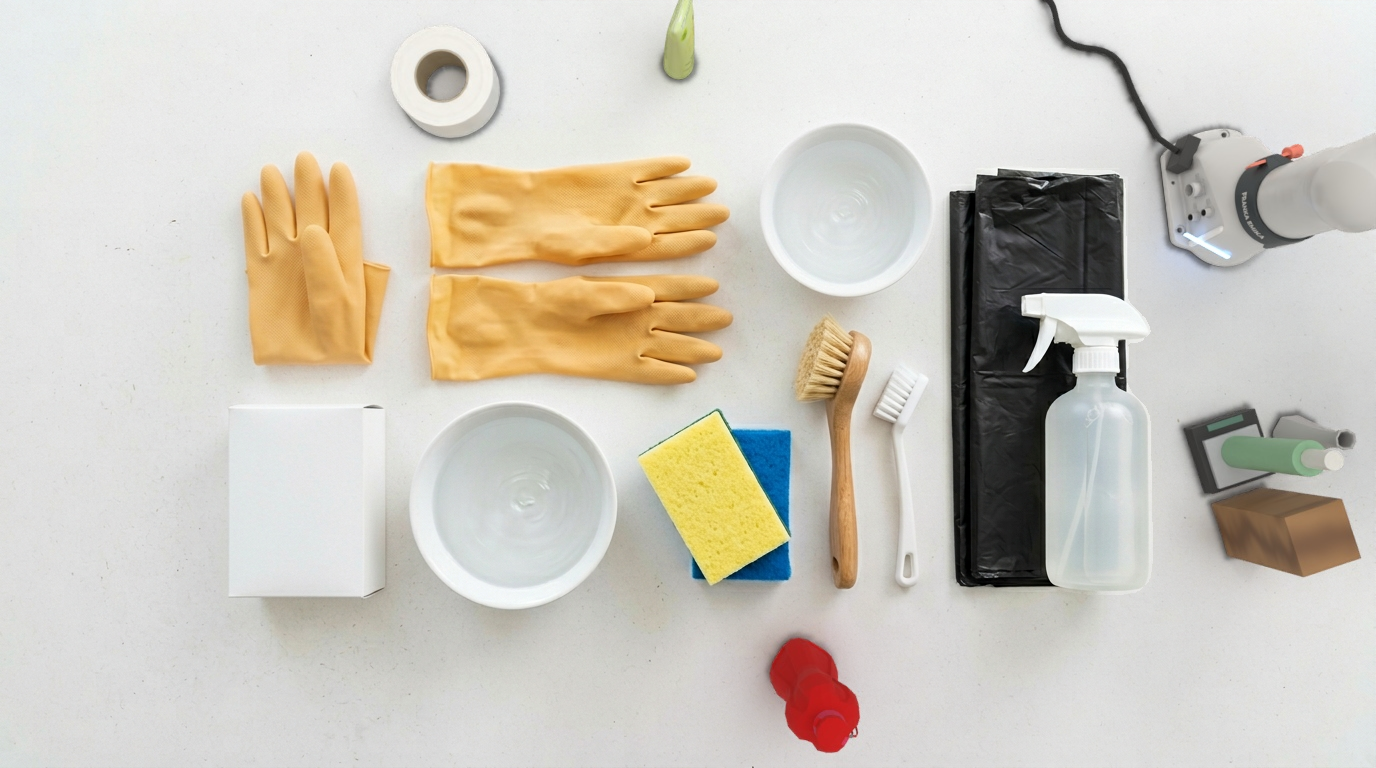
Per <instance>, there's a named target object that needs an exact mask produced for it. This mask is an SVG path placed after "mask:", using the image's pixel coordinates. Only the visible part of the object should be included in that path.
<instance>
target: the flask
mask: <svg viewBox="0 0 1376 768" xmlns="http://www.w3.org/2000/svg"><path fill="white" fill-rule="evenodd" d="M1356 435H1357V434H1356V433H1355V432H1354V431H1352V430H1350V429H1339V430H1335V429H1331V428H1328V427H1325V426H1322V425H1320V424H1318V423H1316V422H1313V421H1311V420H1309V419H1307V418H1306V417H1304V416H1302V415H1299V414H1294V415H1287V416H1281V417H1280V418H1279V420H1278V422H1277V424H1276V425H1275V427H1274V428H1273V431H1272V438H1284V439H1300V440H1313V441H1316V442H1318V443H1320V444H1321V445H1322V446H1323V447H1324V449H1325V450H1329V449H1340V450H1342V451H1349V450H1350V451H1351V450H1353V449H1354V447H1355V446H1356V443H1357V437H1356Z"/></svg>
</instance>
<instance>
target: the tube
mask: <svg viewBox="0 0 1376 768" xmlns="http://www.w3.org/2000/svg"><path fill="white" fill-rule="evenodd" d="M694 15H695V14H694V3H693V0H678V1H677V2H676V5H675V8H674V10H673V13H672V16H671V18H670V21H669V23H668V27H667V31H666V34H665V40H664V47H663V60H662V61H663V63H662V64H663V65H662V66H663V69H664V72H665V74H666V75H667V76H669V77H670V78H672V79H674V80H683V79H685V78H687V77H689V76H690V75H691V74H692V72H693V70H694V67H695V66H694V64H695V17H694Z"/></svg>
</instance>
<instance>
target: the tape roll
mask: <svg viewBox="0 0 1376 768" xmlns="http://www.w3.org/2000/svg"><path fill="white" fill-rule="evenodd" d="M392 58H393V59H392V62H391V65H390V72H389V79H390V80H389V81H390V86H391V90H392V94H393V96H394V98H395V100H396V102H397V103H398V105H399V106H400V107H401V109H402V110H403V111H404V112H405V113H406V114H407V115H408V117H409V118H410V119H411V120H412V121H413V122H414V124H416V125H417V127H419V128H420V129H422V130H423V131H425V132H427V133H429V134H431V135H433V136H436V137H439V138H440V137H441V138H446V139H447V138H449V139H453V138H461V137H466V136H468V135H471V134H473V133H475V132H477V131H479V130H480V129H482V128H483V127H484V126H485V125H486V124H487V123H488V122H489V121H490V119H492V117H493V115H494V113H495V112H496V110H497V108H498V105H499V100H500V97H501V95H500V94H501V88H500V87H501V85H500V79H499V76H498V73H497V71H496V68H495V66H494V64H493V62H492V60H491V58H490V55H489V54H488V52H487V51H486V49H485V47H484V46H483V45H482V44H481V43H480V41H479V40H477V38H475V37H474V36H473V35H472V34H470V33H468V32H467V31H465V30H463V29H459V28H458V27H455V26H452V25H448V24H441V25H440V24H439V25H434V26H429V27H424V28H422V29H420V30H418V31H416V32H414V33H412V34H411V35H410V36H408V37H406V38H405V40H404V41H403V42H402V43H401V44H400V45H399V47H398V48H397V50H396V51H395V53H394V55H393V57H392ZM445 66H454V67H459V68H461V69H462V70H464V71H465V75H466V79H465V84H464V86H463V88H462V90H461V91H460V92H459V93H458V94H457V95H455V96H454V97H452V98H450V99H446V100H438V99H433V98H431V97H429V96H428V91H427V87H428V82H429V79H430V78H431V75H432V74H433V73H434V72H435V71H437V70H439V69H440V68H442V67H445Z"/></svg>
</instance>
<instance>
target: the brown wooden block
mask: <svg viewBox="0 0 1376 768" xmlns="http://www.w3.org/2000/svg"><path fill="white" fill-rule="evenodd" d="M1210 505H1211V509H1212V511H1213V514H1214V517H1215V521H1216V524H1217V527H1218V530H1219V532H1220V536H1221V538H1222V542H1223V546H1224V548H1225V551H1226V555H1227V557H1229V558H1233V559H1236V560H1240V561H1243V562H1246V563H1251V564H1253V565H1258V566H1262V567H1265V568H1269V569H1271V570H1272V569H1273V570H1276V571H1279V572H1283V573H1287V574H1291V575H1294V576H1298V577H1301V578H1307V577H1310V576H1312V575H1315V574H1318V573H1321V572H1325V571H1328V570H1330V569H1333V568H1337V567H1339V566H1343V565H1346V564H1349V563H1351V562H1355V561H1357V560H1361V559H1362V556H1361V552H1360V550H1359V549H1360V548H1359V546H1358V543H1357V540H1356V537H1355V534H1354V530H1353V528H1352V524H1351V522H1350V518H1349V516H1348V513H1347V509H1346V506H1345V503H1344V501H1343V499H1342V498H1339V497H1333V496H1332V497H1331V496H1325V495H1318V494H1313V493H1312V494H1311V493H1305V492H1299V491H1291V490H1286V489H1285V490H1284V489H1277V488H1270V487H1264V486H1261V487H1258V488H1254V489H1252V490H1248V491H1246V492H1243V493H1240V494H1237V495H1234V496H1230V497H1228V498H1224V499H1222V500H1219V501H1215V502H1212V503H1211V504H1210Z"/></svg>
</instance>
